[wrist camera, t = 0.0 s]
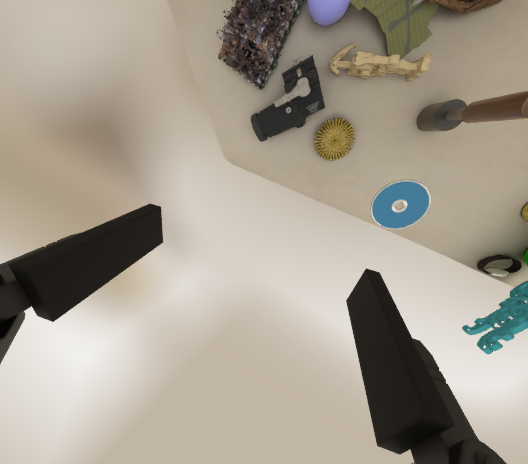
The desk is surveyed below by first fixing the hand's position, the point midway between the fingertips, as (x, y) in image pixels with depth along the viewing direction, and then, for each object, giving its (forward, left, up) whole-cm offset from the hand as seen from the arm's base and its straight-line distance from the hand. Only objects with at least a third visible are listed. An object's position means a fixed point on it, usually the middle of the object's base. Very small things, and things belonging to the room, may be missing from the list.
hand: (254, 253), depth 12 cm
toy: (-11, +24, -36) cm, 44 cm away
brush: (-2, +26, -38) cm, 47 cm away
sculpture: (-7, +11, -36) cm, 39 cm away
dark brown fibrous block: (-26, -1, -38) cm, 46 cm away
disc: (+9, +24, -38) cm, 46 cm away
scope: (-15, 0, -31) cm, 34 cm away
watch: (+33, +40, -38) cm, 65 cm away
